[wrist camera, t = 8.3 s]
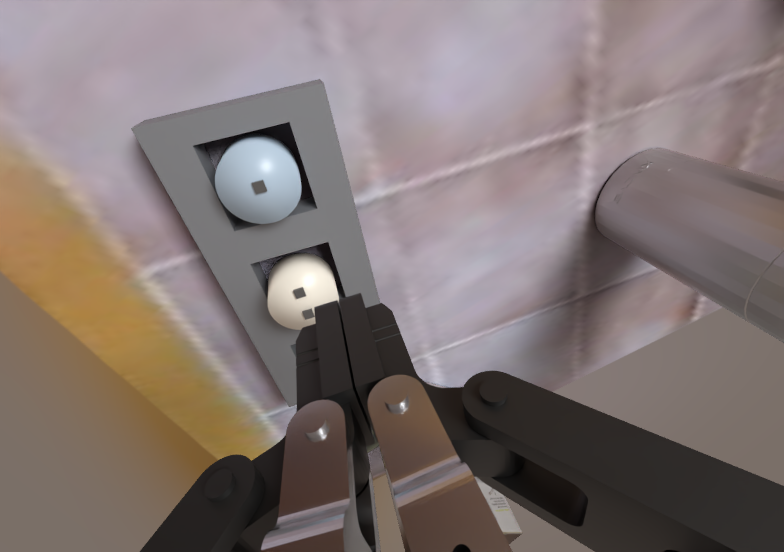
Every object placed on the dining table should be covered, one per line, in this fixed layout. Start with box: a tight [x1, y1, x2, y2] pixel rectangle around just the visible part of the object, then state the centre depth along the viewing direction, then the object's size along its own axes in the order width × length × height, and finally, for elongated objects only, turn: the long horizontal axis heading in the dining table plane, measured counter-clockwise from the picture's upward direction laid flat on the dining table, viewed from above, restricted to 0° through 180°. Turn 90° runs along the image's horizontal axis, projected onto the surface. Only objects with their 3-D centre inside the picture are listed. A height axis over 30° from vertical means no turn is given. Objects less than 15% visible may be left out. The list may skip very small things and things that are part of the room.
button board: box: [131, 79, 380, 407], centre depth 29 cm, size 26×11×2 cm, turn 11°
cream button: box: [268, 253, 339, 330], centre depth 27 cm, size 5×5×3 cm
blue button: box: [215, 134, 301, 224], centre depth 23 cm, size 5×5×3 cm
